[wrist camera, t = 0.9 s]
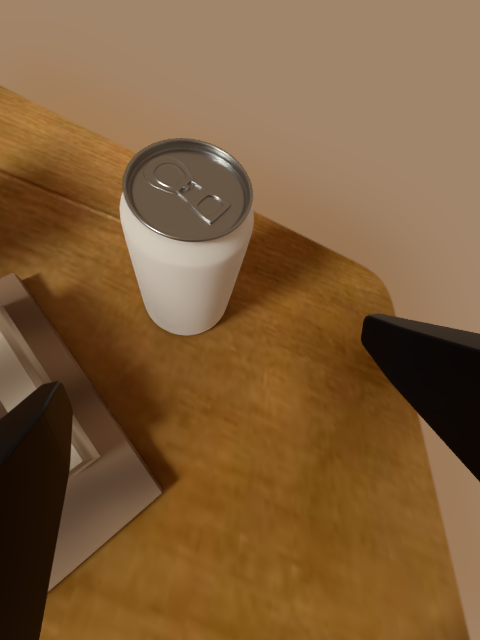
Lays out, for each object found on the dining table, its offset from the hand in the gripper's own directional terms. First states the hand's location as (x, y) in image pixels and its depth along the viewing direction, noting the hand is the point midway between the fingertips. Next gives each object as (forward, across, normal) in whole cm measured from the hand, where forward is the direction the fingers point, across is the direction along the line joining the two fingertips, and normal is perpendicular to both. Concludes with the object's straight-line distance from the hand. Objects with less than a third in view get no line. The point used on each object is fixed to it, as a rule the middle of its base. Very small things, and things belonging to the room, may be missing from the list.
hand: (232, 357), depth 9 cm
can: (+16, 0, +5) cm, 16 cm away
